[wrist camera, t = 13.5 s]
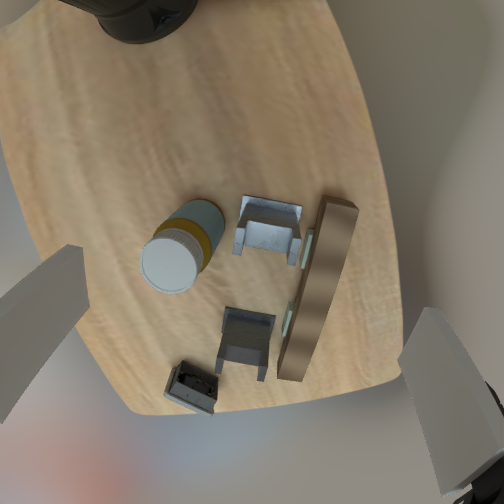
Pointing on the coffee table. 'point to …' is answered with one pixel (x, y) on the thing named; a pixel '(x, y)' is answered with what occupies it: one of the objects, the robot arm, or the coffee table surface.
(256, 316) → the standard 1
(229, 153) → the coffee table surface
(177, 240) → the bottle
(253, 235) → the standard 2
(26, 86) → the coffee table surface
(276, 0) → the coffee table surface
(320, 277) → the rail
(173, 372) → the electrical switch
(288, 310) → the blocks
